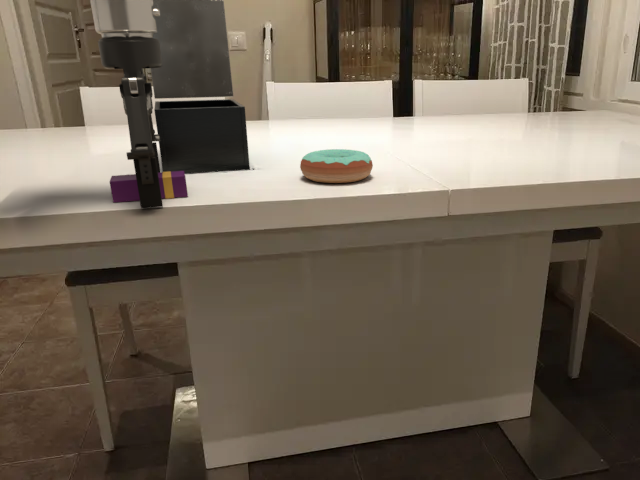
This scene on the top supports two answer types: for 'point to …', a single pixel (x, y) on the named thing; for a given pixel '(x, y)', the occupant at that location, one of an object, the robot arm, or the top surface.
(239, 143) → the trash bin
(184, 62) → the bin lid
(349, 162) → the donut
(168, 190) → the chocolate bar
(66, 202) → the top surface
